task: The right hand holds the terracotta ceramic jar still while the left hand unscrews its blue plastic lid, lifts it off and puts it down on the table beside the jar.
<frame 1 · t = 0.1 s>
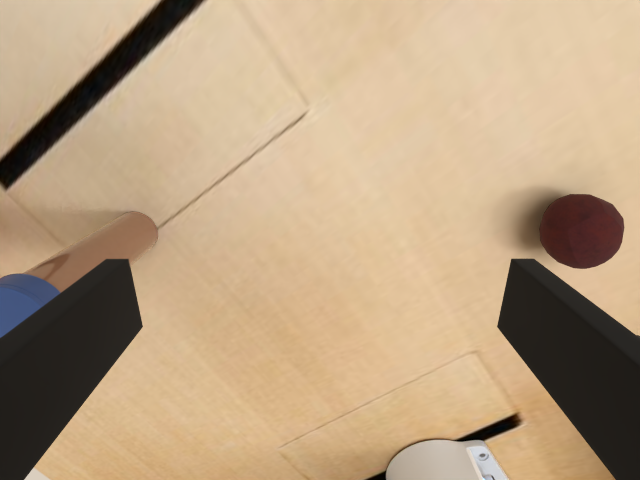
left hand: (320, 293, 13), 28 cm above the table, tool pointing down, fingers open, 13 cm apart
jar: (137, 231, 42), on the table
lid: (13, 321, 25), point 18 cm above the table, screwed on, not yet turned
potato: (558, 219, 41), on the table
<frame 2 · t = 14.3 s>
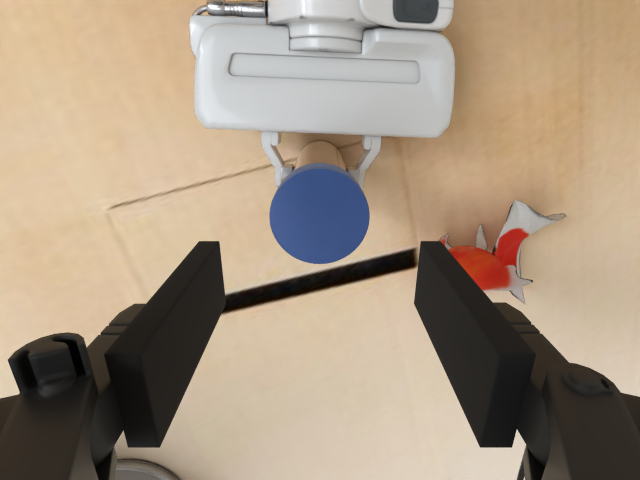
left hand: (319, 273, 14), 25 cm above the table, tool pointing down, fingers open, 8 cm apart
right hand: (319, 187, 32), fingers closed on jar, 5 cm apart
fish: (477, 236, 41), on the table
jar: (319, 164, 38), on the table, touching right hand
lid: (319, 216, 21), point 18 cm above the table, screwed on, not yet turned
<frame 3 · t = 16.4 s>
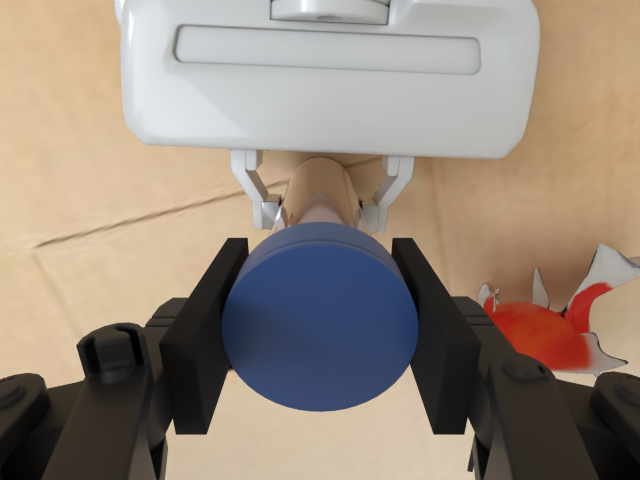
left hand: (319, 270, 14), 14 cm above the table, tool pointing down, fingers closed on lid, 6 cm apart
right hand: (320, 228, 22), fingers closed on jar, 5 cm apart
fish: (531, 283, 30), on the table
jar: (320, 188, 28), on the table, touching right hand
lid: (319, 329, 11), point 18 cm above the table, screwed on, not yet turned, touching left hand
when the left hand's fingers open (14 cm above the table, at t = 17.8 s): lid stays where it is, point 18 cm above the table.
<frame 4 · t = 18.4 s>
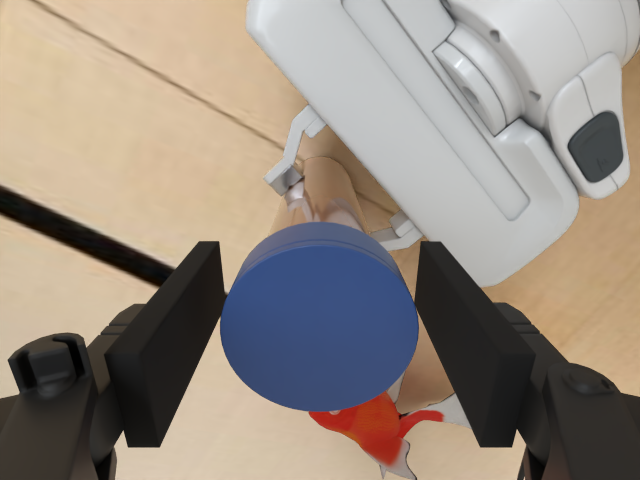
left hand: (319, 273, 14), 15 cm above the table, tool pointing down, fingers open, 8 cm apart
right hand: (309, 223, 22), fingers closed on jar, 5 cm apart
fish: (392, 377, 34), on the table
jar: (319, 187, 28), on the table, touching right hand
lid: (319, 329, 11), point 18 cm above the table, turned 102° so far, risen 0.3 cm, still on its thread
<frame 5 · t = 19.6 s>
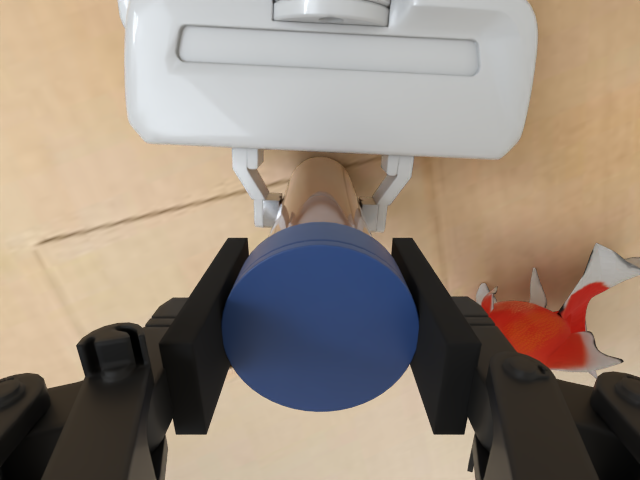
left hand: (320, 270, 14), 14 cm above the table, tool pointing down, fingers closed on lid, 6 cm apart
right hand: (320, 227, 22), fingers closed on jar, 5 cm apart
fish: (528, 282, 31), on the table
jar: (320, 188, 28), on the table, touching right hand
lid: (320, 329, 11), point 18 cm above the table, turned 102° so far, risen 0.3 cm, still on its thread, touching left hand
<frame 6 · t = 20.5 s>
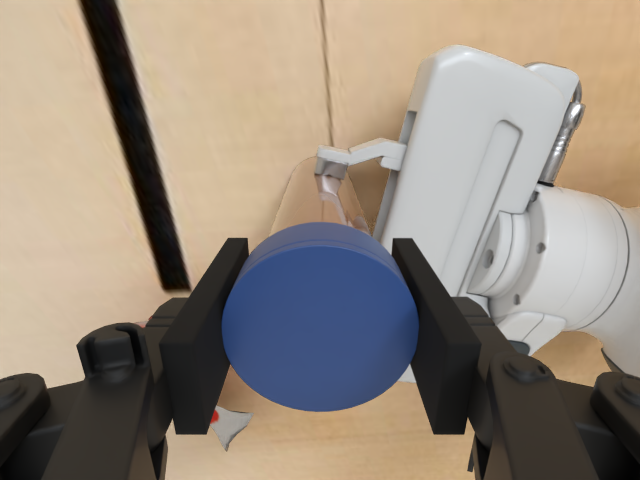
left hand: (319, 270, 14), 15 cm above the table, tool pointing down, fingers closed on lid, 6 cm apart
right hand: (305, 209, 22), fingers closed on jar, 5 cm apart
fish: (203, 357, 34), on the table
jar: (320, 187, 28), on the table, touching right hand
lid: (320, 329, 11), point 19 cm above the table, off its thread, touching left hand
when the left hand's fingers open (0 cm above the table, at t = 27.4 s): lid drops 2 cm, point 2 cm above the table.
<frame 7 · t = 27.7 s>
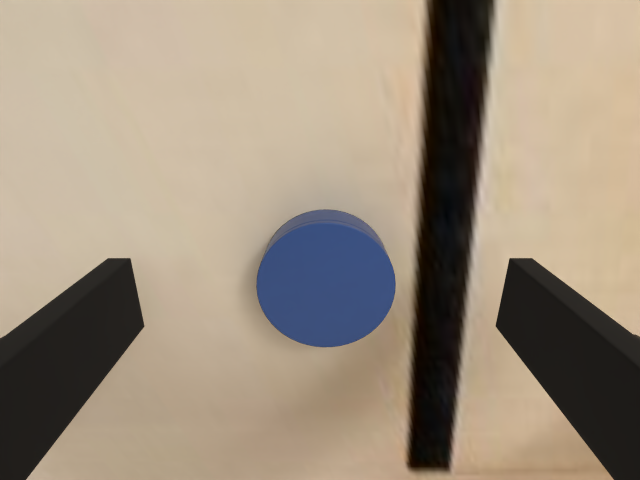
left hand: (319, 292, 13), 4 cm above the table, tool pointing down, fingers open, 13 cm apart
lid: (325, 285, 15), point 2 cm above the table, off its thread
when the right hand's fingers open (7 cm above the table, at t = 28.1 s): jar stays where it is, on the table.
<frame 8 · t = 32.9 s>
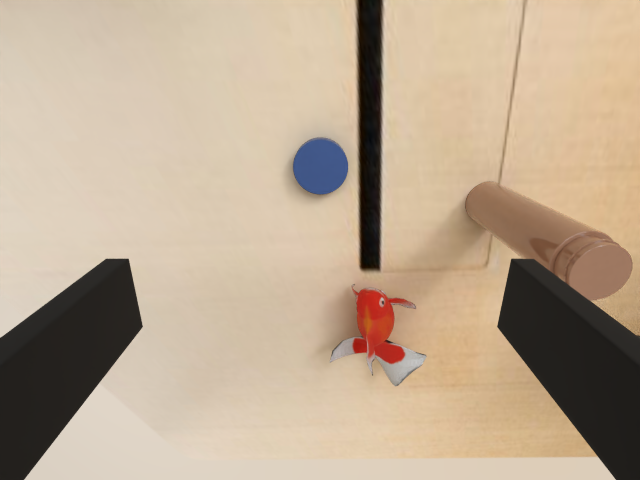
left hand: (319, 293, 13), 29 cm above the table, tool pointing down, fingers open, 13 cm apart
fish: (376, 319, 47), on the table
jar: (486, 202, 41), on the table
lid: (320, 167, 38), point 2 cm above the table, off its thread
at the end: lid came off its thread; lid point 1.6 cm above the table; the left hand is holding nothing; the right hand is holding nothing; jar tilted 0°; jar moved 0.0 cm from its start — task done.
